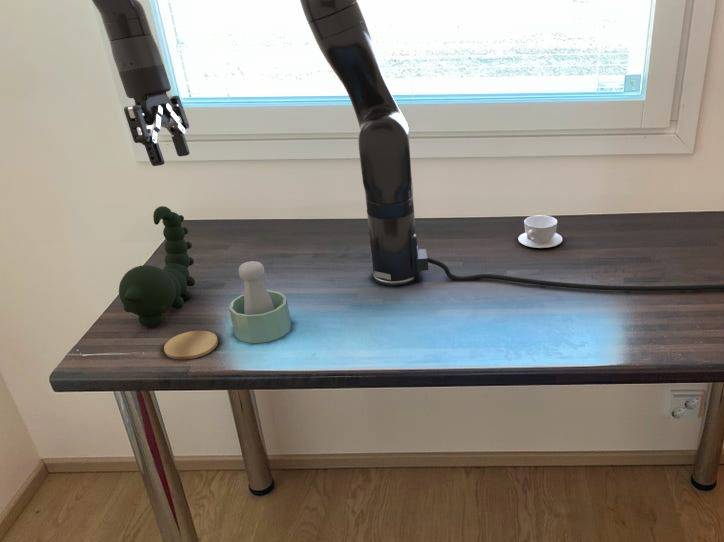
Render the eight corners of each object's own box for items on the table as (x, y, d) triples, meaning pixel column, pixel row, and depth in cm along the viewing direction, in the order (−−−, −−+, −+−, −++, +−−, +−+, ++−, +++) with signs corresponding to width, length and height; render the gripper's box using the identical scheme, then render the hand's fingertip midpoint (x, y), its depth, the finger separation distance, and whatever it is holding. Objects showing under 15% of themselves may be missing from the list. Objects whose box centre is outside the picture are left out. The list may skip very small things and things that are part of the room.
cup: (292, 314, 140) (288, 288, 137) (288, 340, 132) (283, 313, 129) (239, 318, 139) (233, 292, 136) (232, 345, 131) (225, 318, 128)
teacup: (533, 229, 173) (533, 210, 171) (570, 238, 168) (571, 218, 166) (509, 243, 167) (509, 223, 164) (547, 253, 162) (548, 233, 159)
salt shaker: (286, 325, 136) (274, 260, 130) (266, 339, 132) (252, 273, 125) (260, 319, 139) (248, 255, 132) (240, 333, 134) (225, 268, 127)
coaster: (221, 331, 135) (221, 328, 135) (213, 357, 127) (212, 354, 127) (170, 335, 134) (169, 332, 134) (159, 361, 126) (158, 358, 126)
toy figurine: (168, 289, 154) (110, 341, 131) (148, 199, 145) (82, 238, 123) (213, 289, 153) (162, 341, 131) (195, 199, 145) (138, 238, 122)
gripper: (135, 66, 121) (168, 166, 128) (181, 59, 133) (209, 150, 140) (96, 73, 123) (131, 171, 130) (145, 65, 135) (174, 155, 142)
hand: (171, 160), depth 135 cm, fingers open, 8 cm apart
